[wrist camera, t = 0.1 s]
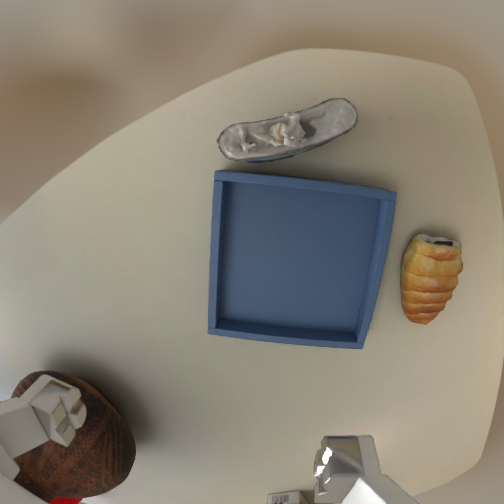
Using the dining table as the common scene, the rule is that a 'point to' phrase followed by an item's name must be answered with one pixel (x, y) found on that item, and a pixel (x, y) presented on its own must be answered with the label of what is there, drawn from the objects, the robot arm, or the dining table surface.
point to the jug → (78, 450)
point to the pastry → (429, 276)
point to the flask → (288, 132)
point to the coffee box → (287, 498)
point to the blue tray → (296, 258)
